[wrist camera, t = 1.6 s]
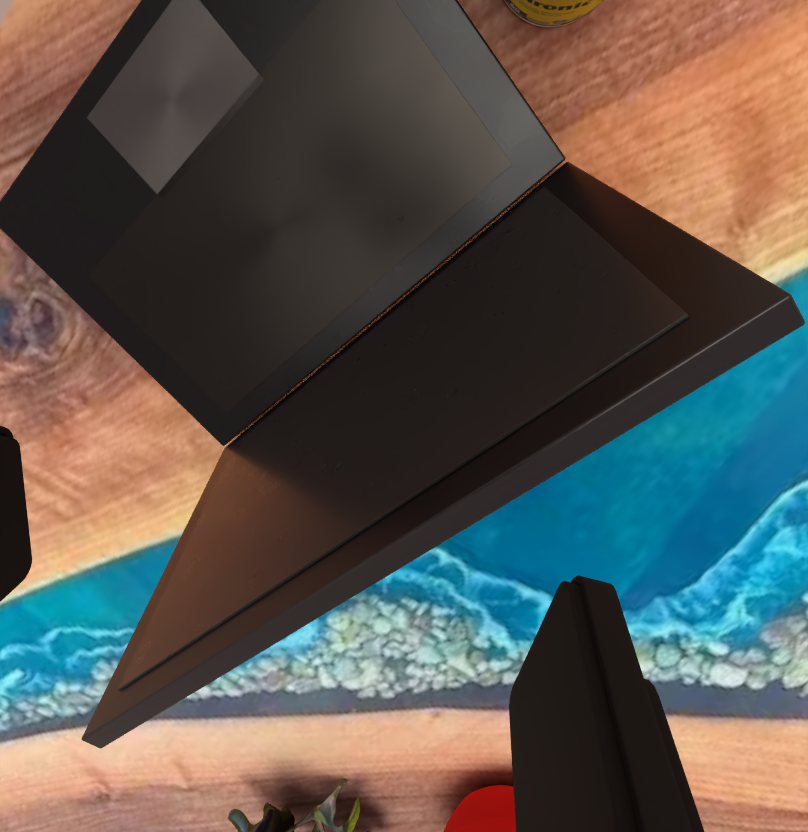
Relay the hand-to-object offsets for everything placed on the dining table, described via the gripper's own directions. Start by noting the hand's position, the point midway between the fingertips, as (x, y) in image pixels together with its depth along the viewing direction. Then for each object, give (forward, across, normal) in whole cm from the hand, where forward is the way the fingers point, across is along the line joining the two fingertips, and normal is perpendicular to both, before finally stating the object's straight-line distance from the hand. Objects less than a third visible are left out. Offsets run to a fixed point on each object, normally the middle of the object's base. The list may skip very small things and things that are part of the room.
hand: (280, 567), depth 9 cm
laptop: (+22, +9, -3) cm, 24 cm away
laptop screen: (+12, +1, +3) cm, 12 cm away
